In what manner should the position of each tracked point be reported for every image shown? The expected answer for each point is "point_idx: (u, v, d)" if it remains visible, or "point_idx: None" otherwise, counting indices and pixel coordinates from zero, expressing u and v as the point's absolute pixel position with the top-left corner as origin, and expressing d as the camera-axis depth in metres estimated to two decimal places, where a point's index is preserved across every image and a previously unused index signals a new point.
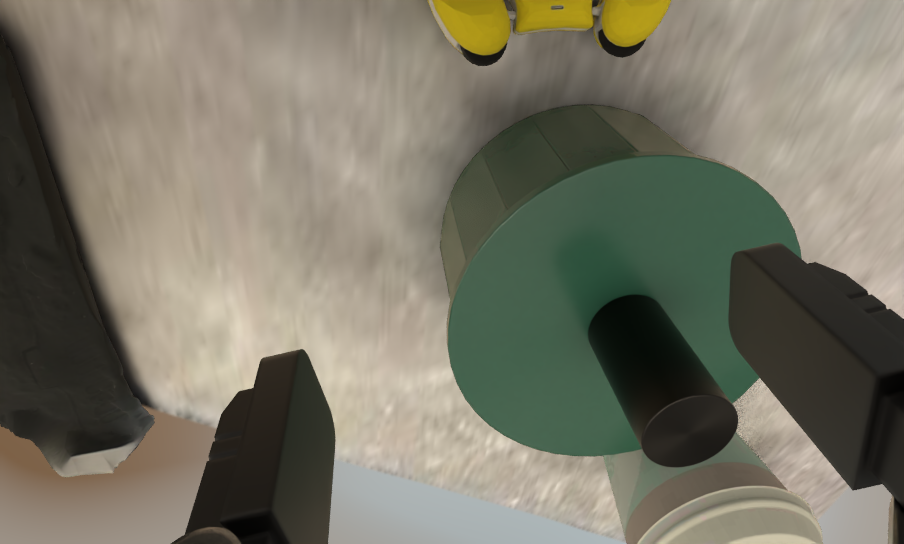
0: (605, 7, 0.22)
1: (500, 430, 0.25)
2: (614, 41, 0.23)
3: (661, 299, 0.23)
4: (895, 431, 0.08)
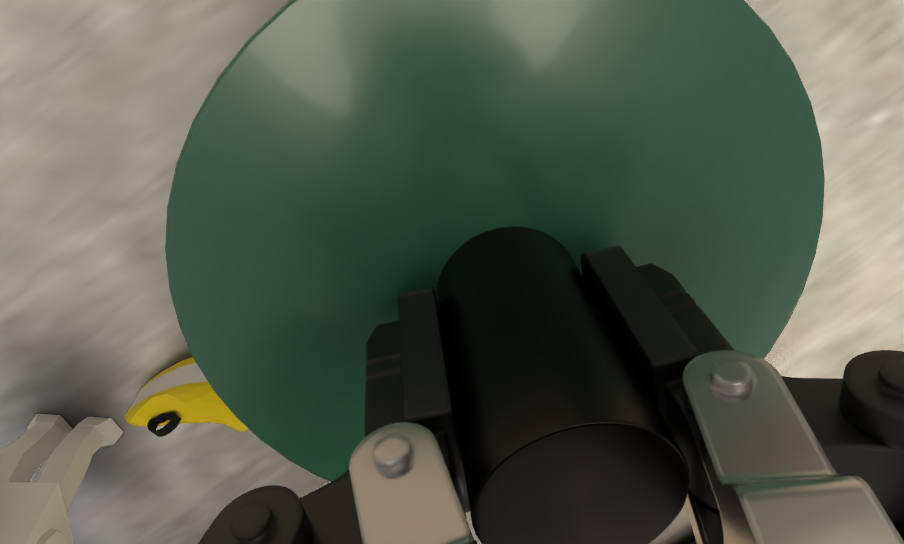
0: None
1: (806, 268, 0.14)
2: None
3: None
4: (673, 415, 0.09)
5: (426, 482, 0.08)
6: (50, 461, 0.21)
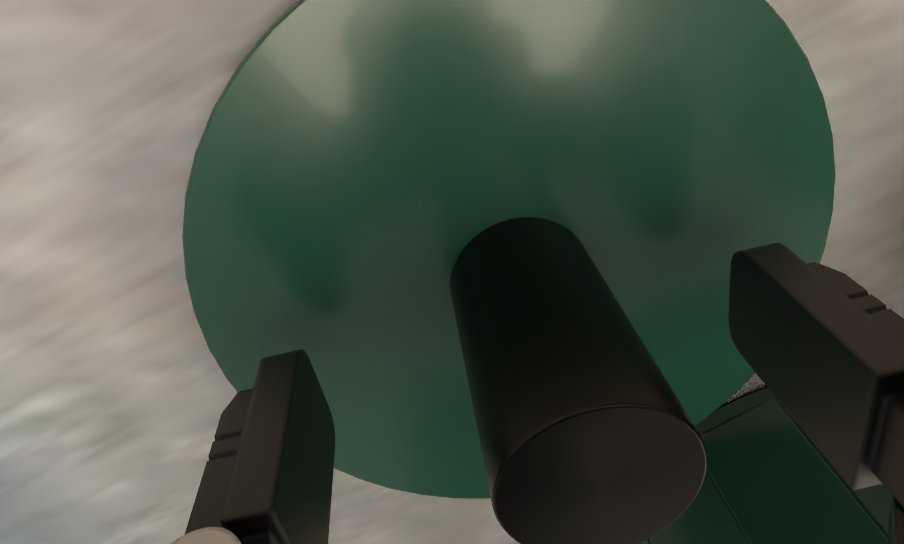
0: None
1: (816, 262, 0.14)
2: None
3: (442, 286, 0.13)
4: (895, 431, 0.08)
5: None
6: None
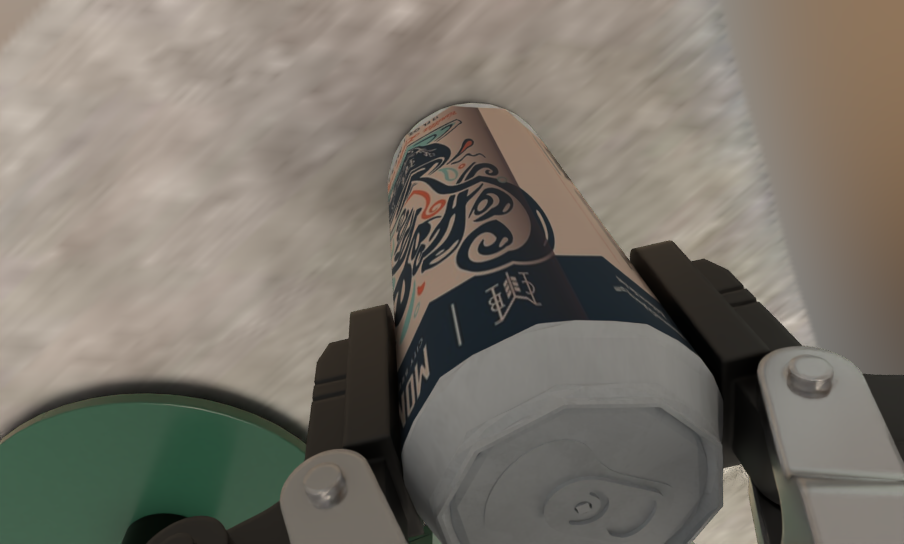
0: None
1: None
2: None
3: None
4: (743, 413, 0.09)
5: (354, 513, 0.07)
6: None
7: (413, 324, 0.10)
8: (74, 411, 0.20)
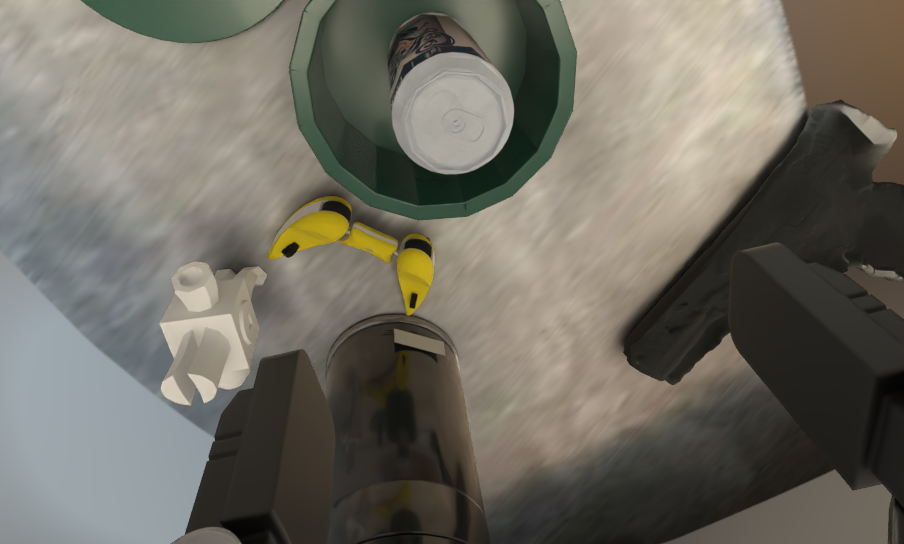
0: None
1: None
2: (345, 221, 0.35)
3: None
4: (895, 431, 0.08)
5: None
6: None
7: (397, 78, 0.25)
8: None
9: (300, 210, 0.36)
